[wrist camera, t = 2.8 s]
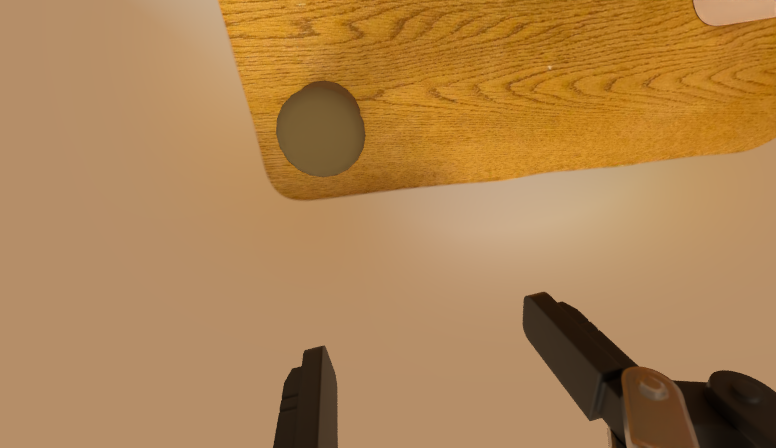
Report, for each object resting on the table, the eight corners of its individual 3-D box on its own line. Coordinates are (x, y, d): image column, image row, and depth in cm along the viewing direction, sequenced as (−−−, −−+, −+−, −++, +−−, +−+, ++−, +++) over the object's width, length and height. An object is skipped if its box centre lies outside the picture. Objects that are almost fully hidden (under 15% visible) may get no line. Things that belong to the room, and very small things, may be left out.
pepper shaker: (275, 108, 25) (236, 123, 16) (332, 65, 25) (330, 51, 15) (321, 165, 28) (312, 209, 18) (374, 127, 27) (395, 151, 17)
